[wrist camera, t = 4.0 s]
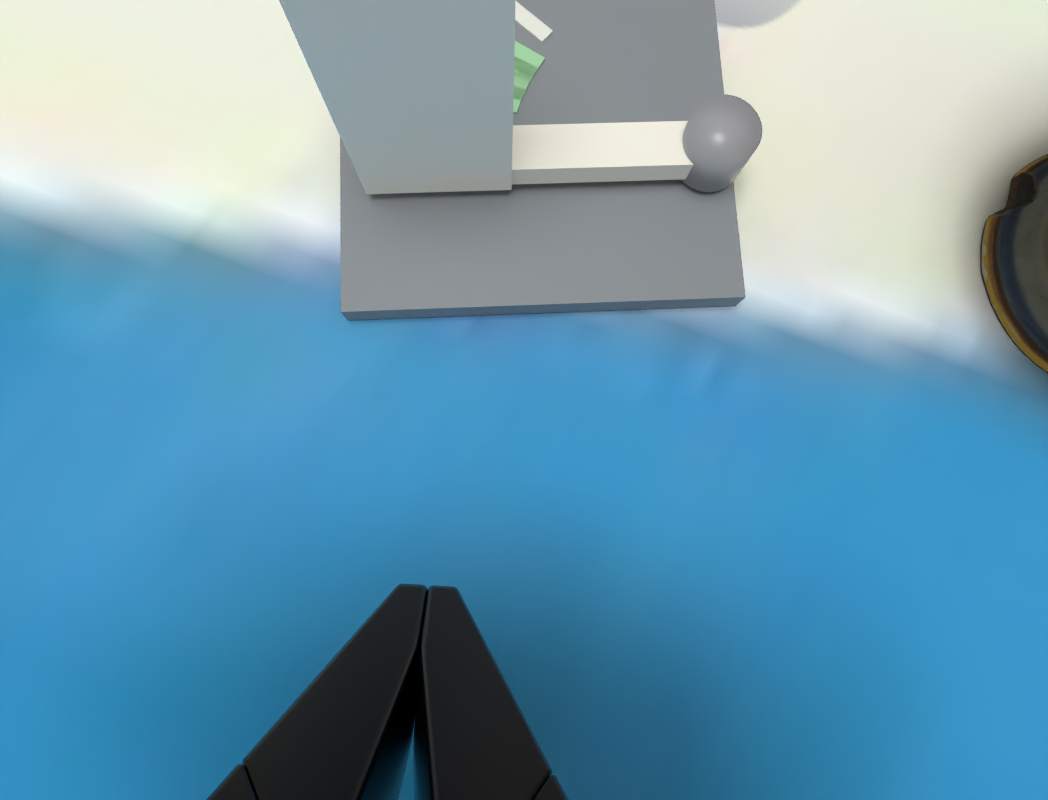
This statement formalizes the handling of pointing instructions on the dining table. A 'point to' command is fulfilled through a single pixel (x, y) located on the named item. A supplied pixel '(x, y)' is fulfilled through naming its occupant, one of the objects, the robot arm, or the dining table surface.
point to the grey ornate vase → (1021, 261)
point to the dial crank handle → (484, 106)
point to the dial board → (562, 187)
